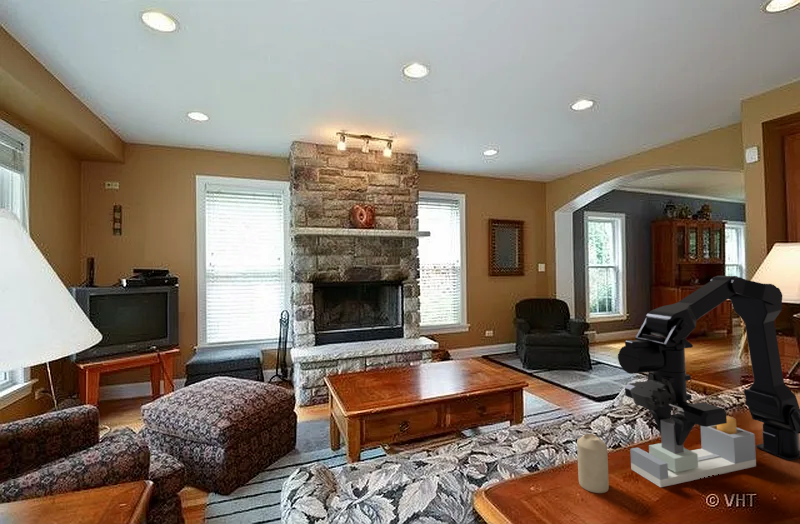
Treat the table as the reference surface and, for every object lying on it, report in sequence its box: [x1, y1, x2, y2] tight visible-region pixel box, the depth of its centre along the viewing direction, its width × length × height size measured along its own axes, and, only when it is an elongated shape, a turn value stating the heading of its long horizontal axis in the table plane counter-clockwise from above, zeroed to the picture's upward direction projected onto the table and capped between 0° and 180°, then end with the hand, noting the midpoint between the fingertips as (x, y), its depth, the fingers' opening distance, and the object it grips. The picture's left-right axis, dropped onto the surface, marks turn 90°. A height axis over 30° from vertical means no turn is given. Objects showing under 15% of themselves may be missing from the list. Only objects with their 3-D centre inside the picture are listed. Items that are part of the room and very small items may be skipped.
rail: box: [629, 425, 757, 488], centre depth 81 cm, size 26×7×7 cm, turn 104°
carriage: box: [648, 418, 698, 472], centre depth 80 cm, size 6×6×9 cm
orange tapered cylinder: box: [717, 415, 738, 434], centre depth 84 cm, size 3×3×6 cm
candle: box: [576, 433, 610, 494], centre depth 76 cm, size 6×6×10 cm
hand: (672, 441), depth 80 cm, fingers closed on carriage, 3 cm apart
